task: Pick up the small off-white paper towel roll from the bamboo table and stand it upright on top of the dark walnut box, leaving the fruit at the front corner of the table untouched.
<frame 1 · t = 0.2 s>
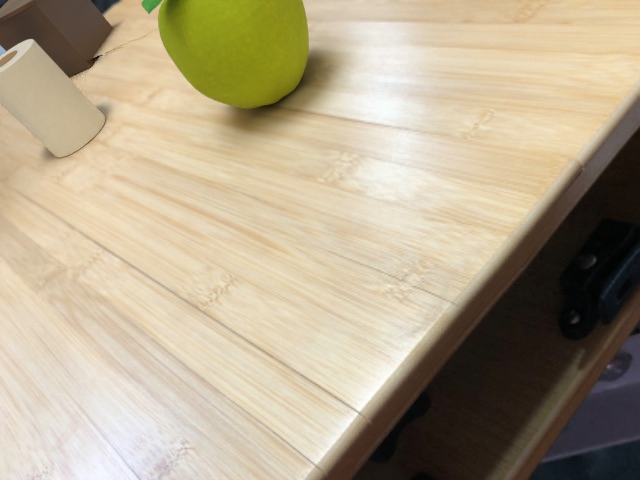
fruit: (280, 94, 45), on the worktop
towel roll: (80, 136, 57), on the worktop
walnut box: (80, 60, 73), on the worktop
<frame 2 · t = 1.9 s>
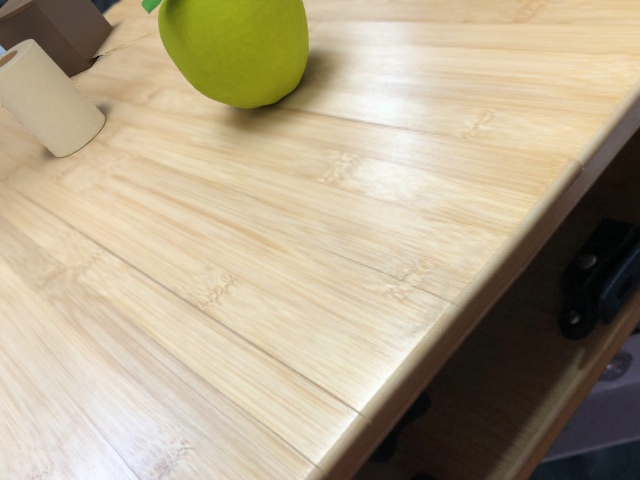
nothing on the worktop moved.
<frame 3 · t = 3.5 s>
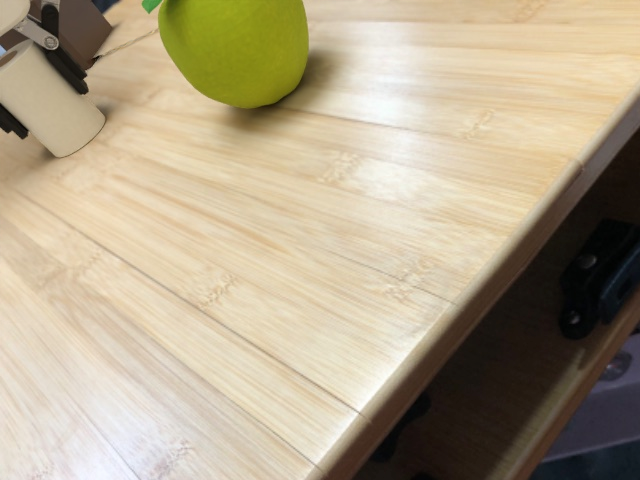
hand: (53, 109, 55), 3 cm above the worktop, tool pointing down, fingers closed on towel roll, 5 cm apart
towel roll: (80, 136, 57), on the worktop, touching gripper
everything else where it was.
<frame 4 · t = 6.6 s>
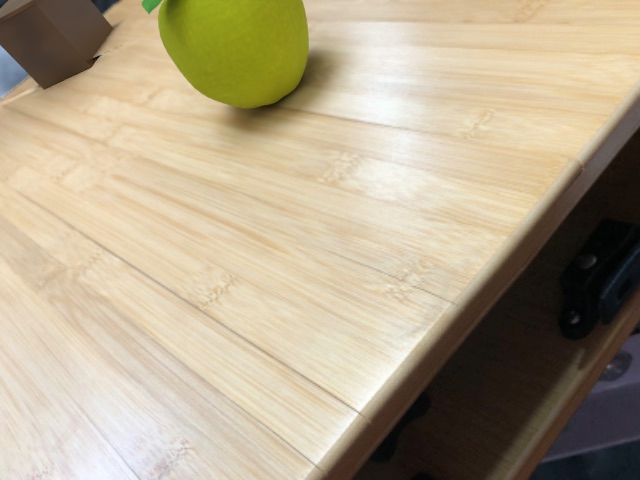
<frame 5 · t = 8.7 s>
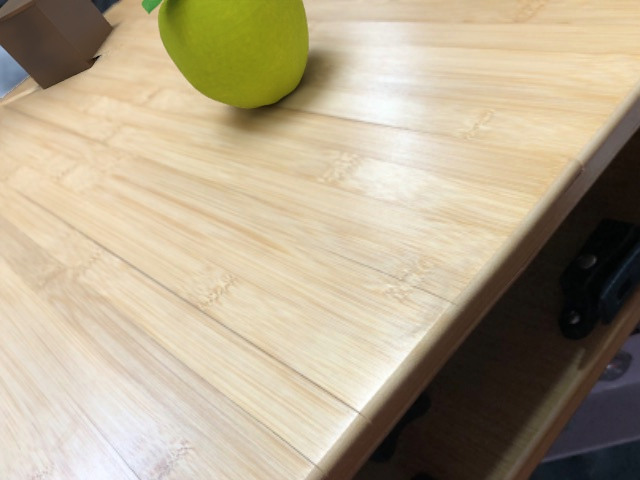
when the fingers open (11 cm above the worktop, at t = 10.0 s): towel roll stays where it is, resting on walnut box.
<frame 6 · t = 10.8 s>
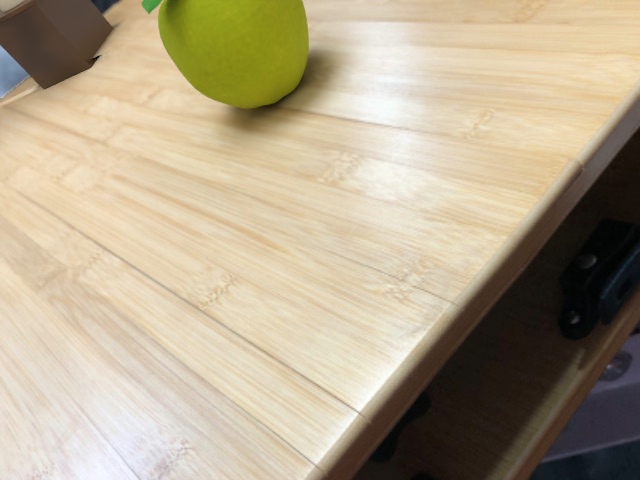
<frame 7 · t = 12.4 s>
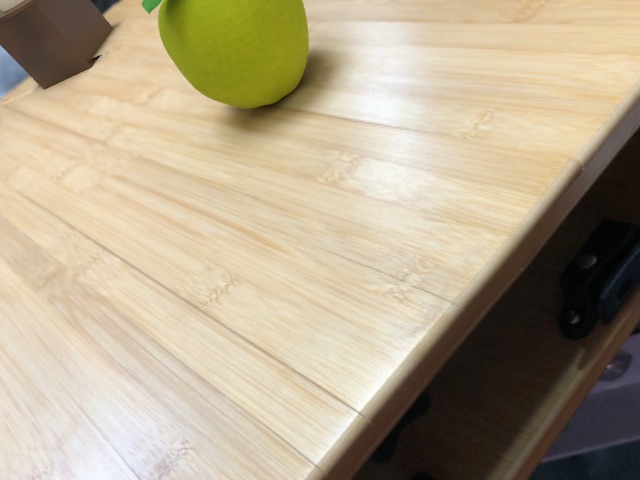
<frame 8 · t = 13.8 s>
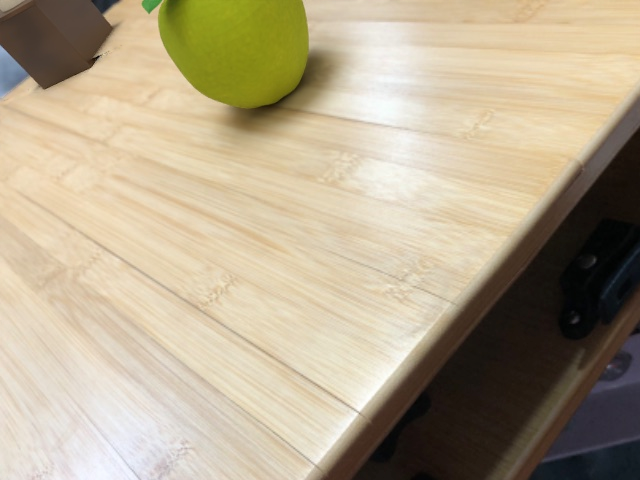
at the end: towel roll 0.1 cm off-centre on the walnut box, point 8.0 cm above the walnut box's base; towel roll tilted 0°; fruit moved 0.2 cm from its start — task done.
